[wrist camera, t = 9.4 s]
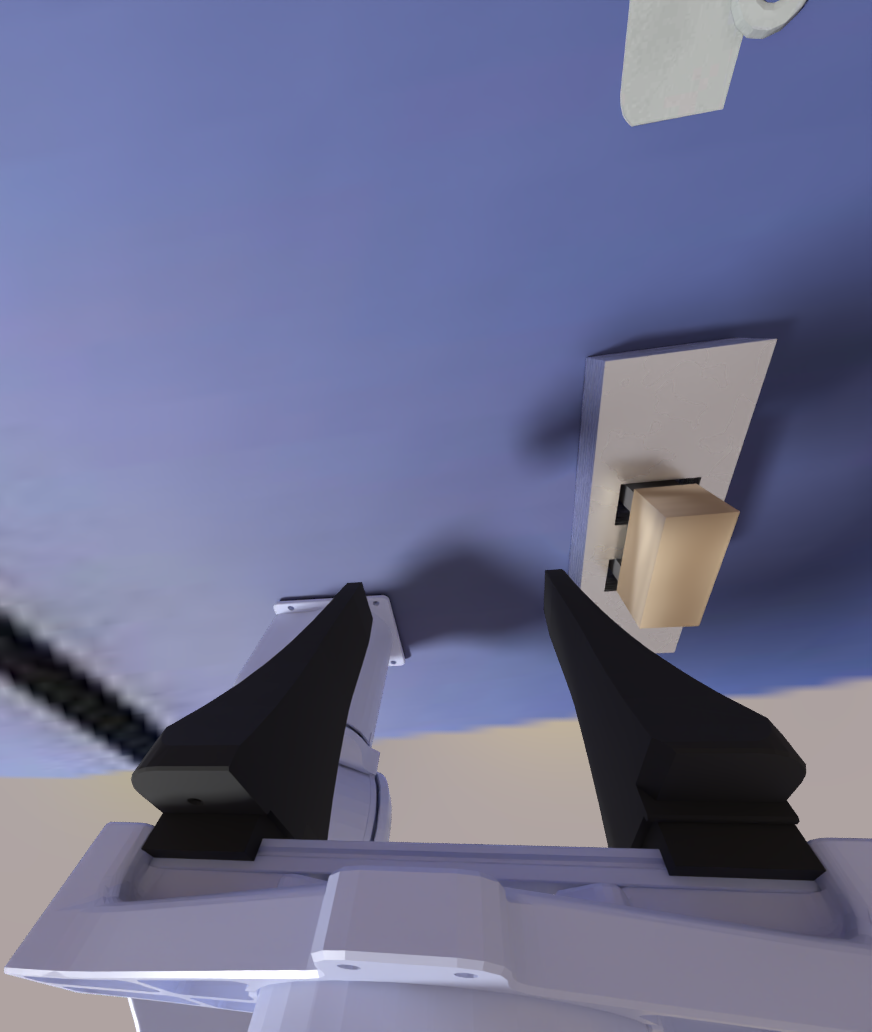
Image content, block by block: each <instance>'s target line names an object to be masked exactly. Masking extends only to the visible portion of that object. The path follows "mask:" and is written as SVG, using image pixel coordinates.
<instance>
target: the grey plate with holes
mask: <svg viewBox="0 0 872 1032" xmlns="http://www.w3.org/2000/svg"><path fill="white" fill-rule="evenodd" d="M776 342H777V339H766V338H728V339H720V340H713V341H705V342H698V343H690V344H683V345H675V346H668V347H660V348H653V349H645V350H638V351H630V352H623V353H615V354H608V355H600V356H593V357H586V366H585V378H584V390H583V402H582V415H581V427H580V439H579V451H578V463H577V475H576V487H575V500H574V512H573V524H572V536H571V548H570V560H569V572H568V576H569V577H570V578H571V579H572V580H573V581H574V582H575V583H576V585H577V586H578V587H579V588H580V589H581V590H582V591H583V592H584V593H585V594H586V595H587V596H588V597H589V598H590V599H591V600H592V601H593V602H594V603H595V604H596V605H597V606H598V607H599V608H600V609H601V610H602V611H603V612H604V613H606V614H607V615H608V616H609V617H610V618H611V619H612V620H613V621H615V622H616V623H617V624H618V625H619V626H620V627H621V628H623V629H624V630H625V631H626V632H627V633H629V634H630V635H631V636H632V637H634V638H635V639H636V640H638V641H639V642H640V643H641V644H643V645H644V646H645V647H647V648H648V649H650V650H651V651H652V652H654V653H673V652H675V649H676V646H677V643H678V640H679V637H680V634H681V631H682V628H683V627H664V628H641V629H639V627H638V625H637V624H636V622H635V620H634V619H633V617H632V615H631V614H630V612H629V610H628V609H627V607H626V606H625V604H624V602H623V601H622V599H621V597H620V596H619V594H618V592H617V591H616V590H617V585H618V581H617V579H616V577H615V576H614V574H613V573H612V571H611V570H610V568H609V566H608V564H609V559H622V556H623V551H624V545H625V539H626V534H627V528H628V523H629V517H630V511H629V510H628V509H627V508H626V507H625V506H624V505H623V504H622V503H621V504H618V499H619V493H620V486H621V484H629V483H640V482H651V481H662V480H673V479H674V480H675V481H677V482H678V483H679V484H681V485H686V484H698V485H699V486H701V487H703V488H704V489H706V490H707V491H709V492H710V493H712V494H713V495H715V496H716V497H718V498H720V499H721V500H723V501H724V500H725V497H726V494H727V491H728V488H729V485H730V482H731V479H732V476H733V473H734V470H735V467H736V463H737V460H738V457H739V454H740V451H741V448H742V445H743V442H744V439H745V436H746V433H747V430H748V427H749V424H750V421H751V418H752V415H753V412H754V409H755V406H756V403H757V400H758V397H759V394H760V391H761V387H762V384H763V381H764V378H765V375H766V372H767V369H768V366H769V363H770V360H771V357H772V354H773V351H774V348H775V345H776Z"/></svg>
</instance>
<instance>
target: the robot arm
mask: <svg viewBox="0 0 872 1032" xmlns="http://www.w3.org/2000/svg"><path fill="white" fill-rule="evenodd" d="M375 601H378V602H375ZM274 610H275V612H276V614H277V615H276V616H275V618H274V619H273V621H272V623H271V624H270V626H269V627H268V629H267V631H266V632H265V634H264V635H263V637H262V638H261V640H260V642H259V643H258V645H257V646H256V648H255V649H254V651H253V653H252V654H251V656H250V657H249V659H248V660H247V662H246V664H245V665H244V667H243V668H242V670H241V672H240V673H239V675H238V677H237V678H236V680H235V683H234V685H233V687H232V688H231V689H230V690H228V691H227V692H225V693H224V694H222V695H220V696H219V697H217V698H216V699H214V700H213V701H211V702H209V703H208V704H206V705H205V706H203V707H201V708H200V709H198V710H196V711H194V712H193V713H191V714H189V715H187V716H186V717H184V718H182V719H181V720H179V721H177V722H175V723H174V724H172V725H170V726H168V727H166V729H165V730H164V731H163V733H162V734H161V735H160V737H159V738H158V740H157V741H156V742H155V744H154V745H153V746H152V748H151V749H150V750H149V752H148V753H147V755H146V756H145V757H144V759H143V760H142V761H141V763H140V764H139V766H138V767H137V768H136V770H135V771H134V772H133V774H132V779H131V781H132V784H133V787H134V788H135V789H136V791H137V792H138V793H139V794H141V795H142V796H143V797H144V798H145V799H147V800H148V801H149V802H150V803H152V804H153V805H154V806H155V807H156V808H158V809H159V810H160V811H161V812H163V814H162V816H161V817H160V819H159V821H158V822H157V824H156V826H153V825H150V824H147V823H130V822H110V823H108V824H106V825H105V826H104V828H103V830H102V831H101V832H100V834H99V835H98V836H97V838H96V839H95V841H94V842H93V843H92V845H91V846H90V848H89V849H88V850H87V852H86V853H85V855H84V856H83V857H82V859H81V860H80V862H79V863H78V865H77V866H76V867H75V869H74V870H73V872H72V873H71V874H70V876H69V877H68V879H67V880H66V882H65V883H64V884H63V886H62V887H61V888H60V890H59V891H58V893H57V894H56V896H55V897H54V898H53V900H52V901H51V903H50V904H49V905H48V907H47V908H46V910H45V911H44V912H43V914H42V915H41V917H40V918H39V920H38V921H37V922H36V924H35V925H34V926H33V928H32V929H31V931H30V932H29V933H28V935H27V936H26V938H25V939H24V941H23V942H22V943H21V945H20V946H19V948H18V949H17V950H16V952H15V953H14V955H13V956H12V958H11V959H10V961H9V962H8V963H7V965H6V966H5V968H4V973H5V974H8V975H12V976H16V977H20V978H24V979H28V980H31V981H35V982H39V983H43V984H47V985H50V986H54V987H58V988H62V989H66V990H70V991H73V992H78V993H87V994H97V995H107V996H117V997H126V998H128V1001H129V1005H130V1009H131V1012H132V1016H133V1019H134V1023H135V1026H136V1030H137V1032H872V839H862V838H818V839H814V840H810V841H808V842H807V841H805V839H804V837H803V836H802V834H801V833H800V831H799V830H798V828H797V827H796V825H795V824H798V823H799V818H798V816H797V814H796V813H795V812H794V810H793V809H792V807H791V806H790V804H789V803H788V802H787V799H788V798H789V797H790V796H791V794H792V793H793V792H794V791H795V790H796V788H797V787H798V786H799V785H800V784H801V783H802V781H803V779H804V777H805V775H806V764H805V763H804V761H803V760H802V759H801V758H800V756H799V755H798V754H797V753H796V751H795V750H794V749H793V748H792V746H791V745H790V744H789V742H788V741H787V740H786V739H785V737H784V736H783V735H782V734H781V733H780V732H779V731H778V729H777V728H776V727H775V726H774V725H773V724H772V723H771V722H770V720H769V719H768V718H766V717H764V716H762V715H760V714H758V713H756V712H755V711H752V710H751V709H749V708H747V707H745V706H743V705H741V704H739V703H737V702H735V701H733V700H731V699H729V698H727V697H725V696H724V695H722V694H720V693H718V692H716V691H715V690H713V689H711V688H709V687H708V686H706V685H704V684H703V683H701V682H699V681H697V680H696V679H694V678H692V677H691V676H689V675H687V674H686V673H684V672H682V671H681V670H679V669H678V668H676V667H675V666H673V665H672V664H670V663H669V662H667V661H666V660H664V659H663V658H661V657H660V656H658V655H657V654H655V653H654V652H652V651H651V650H650V649H648V648H647V647H645V646H644V645H643V644H641V643H640V642H639V641H638V640H636V639H635V638H634V637H632V636H631V635H630V634H629V633H627V632H626V631H625V630H624V629H623V628H621V627H620V626H619V625H618V624H617V623H616V622H615V621H613V620H612V619H611V618H610V617H609V616H608V615H607V614H606V613H604V612H603V611H602V610H601V609H600V608H599V607H598V606H597V605H596V604H595V603H594V602H593V601H592V600H591V599H590V598H589V597H588V596H587V595H586V594H585V593H584V592H583V591H582V590H581V589H580V588H579V587H578V586H577V585H576V583H575V582H574V581H573V580H572V579H571V578H570V577H569V576H568V575H567V574H566V572H565V571H563V570H562V569H558V570H545V590H544V613H545V618H546V622H547V626H548V630H549V635H550V638H551V640H552V643H553V646H554V649H555V652H556V654H557V657H558V660H559V663H560V665H561V668H562V671H563V673H564V676H565V679H566V682H567V684H568V687H569V690H570V693H571V696H572V699H573V702H574V705H575V709H576V713H577V717H578V721H579V724H580V728H581V732H582V736H583V740H584V744H585V748H586V752H587V756H588V760H589V764H590V768H591V772H592V777H593V781H594V785H595V789H596V794H597V798H598V802H599V807H600V811H601V815H602V820H603V825H604V829H605V834H606V838H607V843H608V848H597V847H560V846H522V845H483V844H448V843H445V844H444V843H410V842H389V836H390V829H391V818H392V806H391V797H390V794H389V788H388V783H387V780H386V778H385V777H384V775H383V774H381V773H379V772H377V767H378V762H379V756H380V752H378V751H376V750H374V749H372V748H371V747H372V742H373V737H374V732H375V728H376V723H377V718H378V713H379V708H380V703H381V698H382V694H383V689H384V684H385V679H386V674H387V669H388V666H400V665H403V664H404V663H405V657H404V653H403V649H402V645H401V642H400V638H399V634H398V630H397V626H396V623H395V619H394V615H393V611H392V608H391V604H390V600H389V598H388V597H387V596H385V595H377V596H366V594H365V591H364V588H363V584H362V582H357V583H347V584H346V585H345V586H344V587H343V588H342V589H341V590H340V592H339V593H338V594H337V595H336V596H335V597H334V598H326V599H310V600H293V601H278V602H276V603H275V605H274ZM553 894H554V895H553Z"/></svg>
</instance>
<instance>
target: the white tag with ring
mask: <svg viewBox="0 0 872 1032" xmlns="http://www.w3.org/2000/svg"><path fill="white" fill-rule="evenodd" d="M805 2H806V0H779V1H777V2H775V3H767V2H765V1H764V0H630V4H629V14H628V24H627V34H626V44H625V54H624V63H623V73H622V83H621V93H620V104H621V110H622V114H623V117H624V119H625V120H626V122H627V123H628V124H629V125H631V126H637V125H642V124H648V123H653V122H658V121H663V120H668V119H674V118H679V117H684V116H689V115H694V114H700V113H705V112H710V111H715V110H720V109H723V107H724V103H725V99H726V96H727V92H728V88H729V85H730V81H731V78H732V74H733V70H734V67H735V63H736V59H737V56H738V52H739V49H740V45H741V41H742V38H743V35H744V36H745V37H746V38H755V39H764V38H766V37H768V36H770V35H772V34H774V33H776V32H778V31H780V30H781V29H782V28H783V27H784V26H786V25H787V24H788V23H789V22H790V21H791V20H792V19H793V18H794V17H795V16H796V15H797V14H798V13H799V11H800V10H801V8H802V7H803V5H804V3H805Z"/></svg>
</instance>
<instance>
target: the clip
mask: <svg viewBox="0 0 872 1032" xmlns="http://www.w3.org/2000/svg"><path fill="white" fill-rule="evenodd" d="M619 501H620V502H621V503H622V504H623V505H624V506H625V507H626V508H627V509H628V510H629V511H630V517H629V523H628V528H627V534H626V539H625V545H624V551H623V556H622V559H609V564H608V566H609V568H610V570H611V571H612V573H613V574H614V576H615V577H616V579H617V581H618V585H617V590H616V591H617V592H618V594H619V596H620V597H621V599H622V601H623V602H624V604H625V606H626V607H627V609H628V610H629V612H630V614H631V615H632V617H633V619H634V620H635V622H636V624H637V625H638V627H639V629H641V628H664V627H686V626H699V624H700V622H701V619H702V616H703V613H704V610H705V608H706V605H707V602H708V599H709V597H710V594H711V591H712V588H713V586H714V583H715V580H716V577H717V574H718V572H719V569H720V566H721V563H722V561H723V558H724V555H725V552H726V549H727V547H728V544H729V541H730V538H731V536H732V533H733V530H734V527H735V524H736V522H737V519H738V516H739V513H740V511H738V510H737V509H735V508H734V507H732V506H730V505H729V504H727V503H726V502H724V501H723V500H721V499H720V498H718V497H716V496H715V495H713V494H712V493H710V492H709V491H707V490H706V489H704V488H703V487H701V486H699V485H698V484H686V485H681V484H679V483H678V482H677V481H675V480H674V479H673V480H662V481H651V482H640V483H629V484H621V486H620V493H619Z"/></svg>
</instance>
